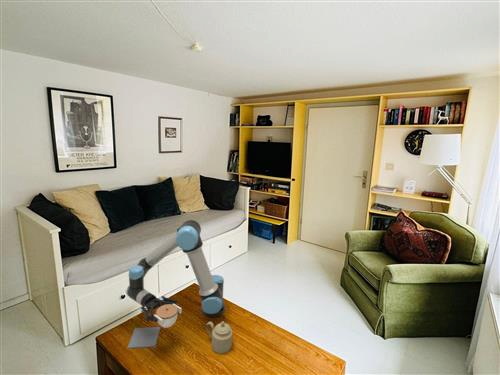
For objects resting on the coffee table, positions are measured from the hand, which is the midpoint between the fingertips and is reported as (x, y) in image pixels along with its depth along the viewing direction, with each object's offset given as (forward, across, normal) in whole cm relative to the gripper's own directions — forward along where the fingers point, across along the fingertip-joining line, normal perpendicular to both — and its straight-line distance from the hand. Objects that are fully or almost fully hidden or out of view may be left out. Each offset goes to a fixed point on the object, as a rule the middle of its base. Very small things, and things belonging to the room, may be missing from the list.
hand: (172, 316), depth 133 cm
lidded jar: (-4, 0, -6) cm, 8 cm away
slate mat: (-19, +4, -20) cm, 28 cm away
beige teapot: (+16, -18, -21) cm, 32 cm away
